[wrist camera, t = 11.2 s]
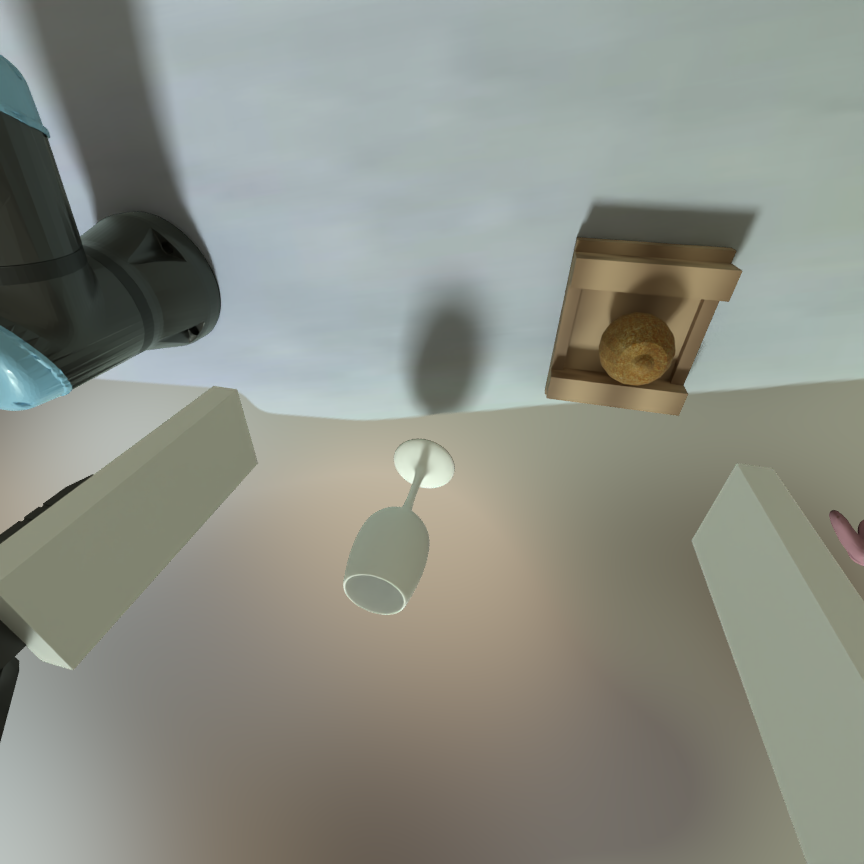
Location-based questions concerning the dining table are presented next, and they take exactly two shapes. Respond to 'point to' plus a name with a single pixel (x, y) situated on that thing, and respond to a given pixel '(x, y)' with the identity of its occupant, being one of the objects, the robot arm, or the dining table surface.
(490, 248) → the dining table surface
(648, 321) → the fruit
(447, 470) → the wineglass
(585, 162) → the dining table surface
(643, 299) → the cradle
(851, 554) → the video game controller
